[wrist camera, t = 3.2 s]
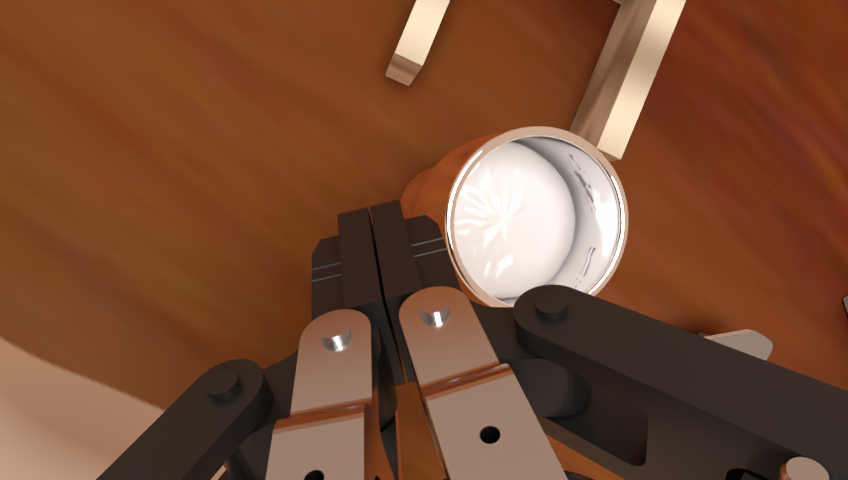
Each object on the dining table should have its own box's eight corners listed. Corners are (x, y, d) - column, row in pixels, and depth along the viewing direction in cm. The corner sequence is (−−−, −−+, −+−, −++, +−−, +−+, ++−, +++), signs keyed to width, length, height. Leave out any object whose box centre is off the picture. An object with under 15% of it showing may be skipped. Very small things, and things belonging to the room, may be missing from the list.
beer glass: (444, 132, 34) (535, 74, 19) (527, 212, 35) (673, 216, 20) (364, 219, 33) (394, 231, 19) (451, 297, 34) (543, 366, 20)
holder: (579, 165, 35) (641, 156, 28) (384, 75, 33) (399, 41, 26) (650, -7, 35) (728, -58, 29) (460, -109, 33) (495, -192, 26)
